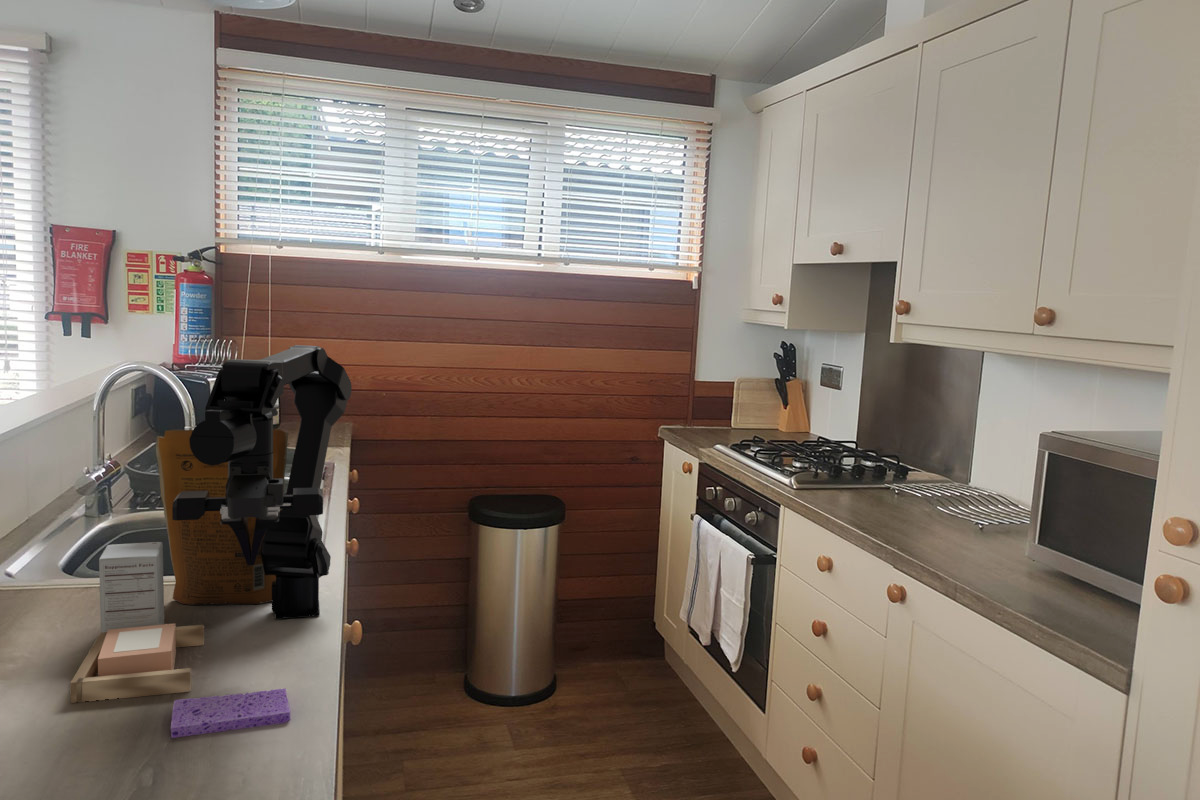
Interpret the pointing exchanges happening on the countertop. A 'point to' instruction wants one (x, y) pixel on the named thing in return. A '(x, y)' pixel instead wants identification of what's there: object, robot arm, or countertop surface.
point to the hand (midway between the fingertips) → (250, 564)
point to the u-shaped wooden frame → (133, 674)
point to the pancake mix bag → (210, 529)
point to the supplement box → (131, 585)
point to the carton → (138, 650)
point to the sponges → (229, 712)
